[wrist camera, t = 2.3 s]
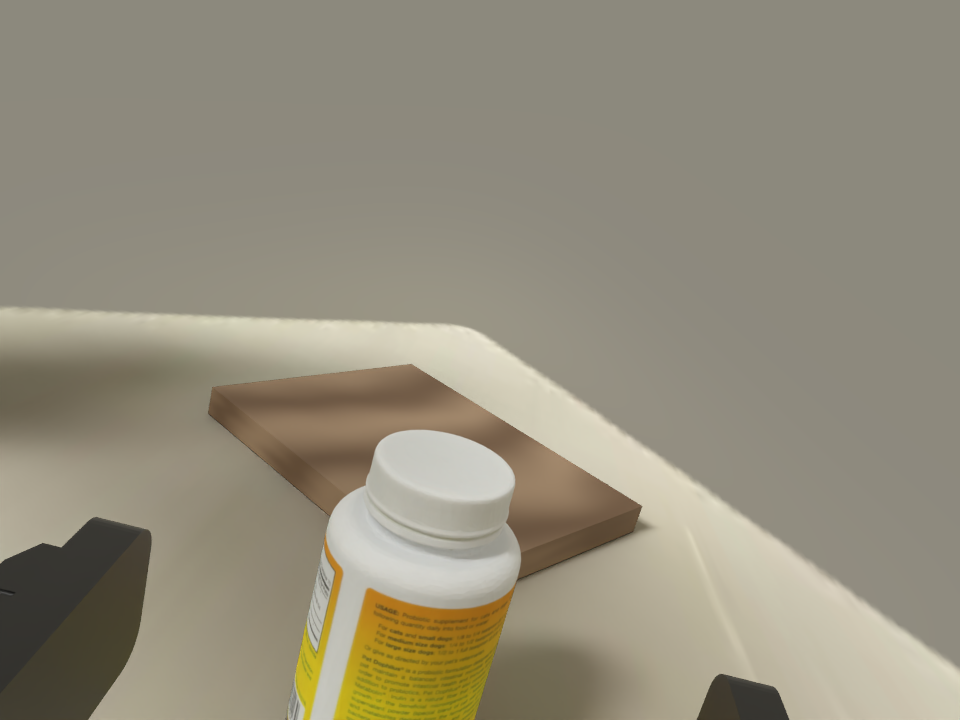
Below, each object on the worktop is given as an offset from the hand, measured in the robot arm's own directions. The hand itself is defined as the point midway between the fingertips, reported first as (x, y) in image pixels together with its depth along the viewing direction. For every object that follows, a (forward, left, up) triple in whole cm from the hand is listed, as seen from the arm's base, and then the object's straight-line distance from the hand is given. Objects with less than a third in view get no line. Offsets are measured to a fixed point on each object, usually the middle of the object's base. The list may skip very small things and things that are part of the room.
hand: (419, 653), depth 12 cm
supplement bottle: (-7, +9, -13) cm, 17 cm away
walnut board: (-20, +23, -13) cm, 33 cm away
